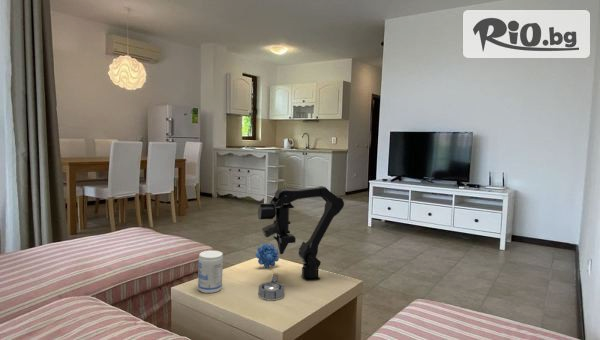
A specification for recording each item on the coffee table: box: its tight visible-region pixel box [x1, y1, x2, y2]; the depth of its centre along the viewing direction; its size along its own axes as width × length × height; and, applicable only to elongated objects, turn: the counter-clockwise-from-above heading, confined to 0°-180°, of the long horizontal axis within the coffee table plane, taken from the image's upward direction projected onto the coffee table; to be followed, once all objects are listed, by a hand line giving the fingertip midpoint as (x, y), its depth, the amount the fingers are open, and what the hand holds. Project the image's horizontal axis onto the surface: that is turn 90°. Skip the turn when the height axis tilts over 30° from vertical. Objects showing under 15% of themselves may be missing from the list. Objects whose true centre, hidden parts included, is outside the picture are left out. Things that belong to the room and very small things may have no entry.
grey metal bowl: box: [258, 283, 285, 302], centre depth 147 cm, size 10×10×4 cm
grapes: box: [255, 243, 280, 269], centre depth 177 cm, size 12×7×12 cm, turn 114°
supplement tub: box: [197, 250, 224, 294], centre depth 151 cm, size 10×10×15 cm
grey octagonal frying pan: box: [258, 272, 285, 299], centre depth 152 cm, size 18×10×3 cm, turn 177°
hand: (281, 254), depth 161 cm, fingers closed
